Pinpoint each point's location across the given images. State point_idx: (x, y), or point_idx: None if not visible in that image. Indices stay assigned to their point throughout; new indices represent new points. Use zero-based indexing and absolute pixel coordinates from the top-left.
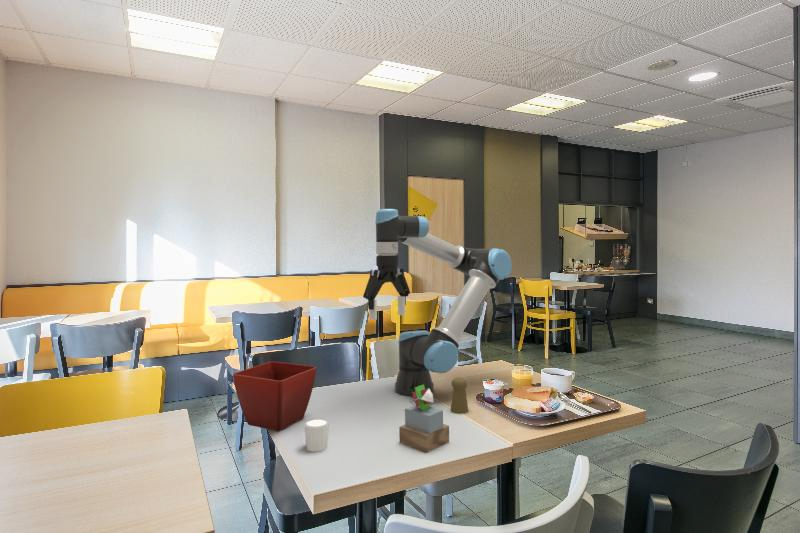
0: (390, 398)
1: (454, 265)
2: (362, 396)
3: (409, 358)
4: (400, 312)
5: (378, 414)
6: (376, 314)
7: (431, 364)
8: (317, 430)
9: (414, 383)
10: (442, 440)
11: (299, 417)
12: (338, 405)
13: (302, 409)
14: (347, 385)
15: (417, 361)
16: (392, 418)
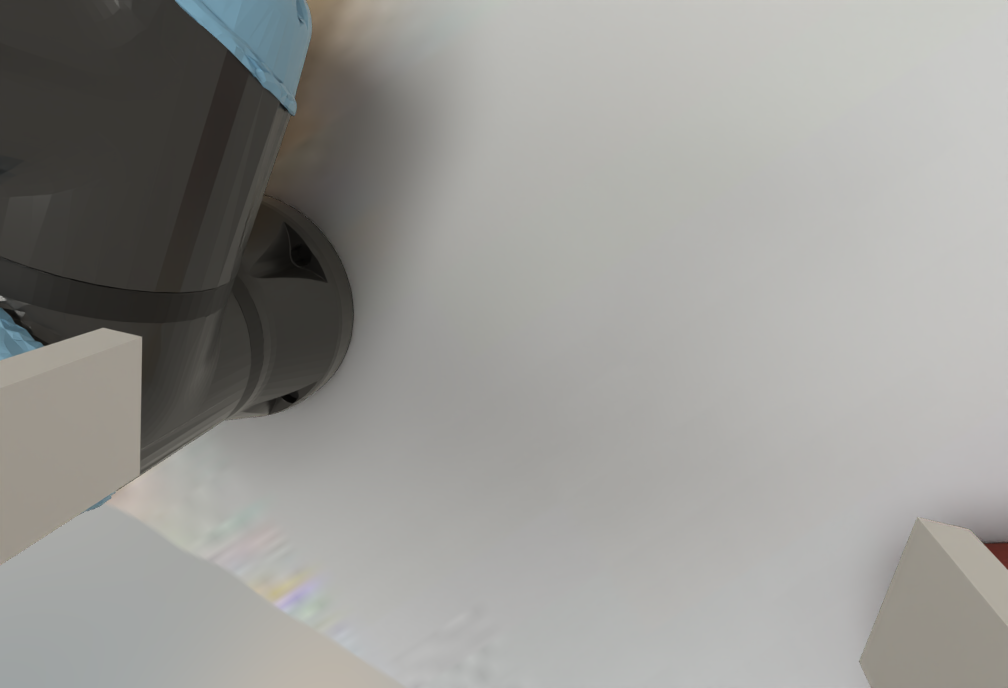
0: (436, 340)
1: None
2: (490, 483)
3: (221, 319)
4: (102, 436)
5: (691, 250)
6: (986, 589)
7: (309, 12)
8: None
9: (281, 268)
10: None
11: (997, 548)
12: (675, 509)
13: (1003, 562)
14: (388, 641)
15: (256, 213)
16: (710, 145)
